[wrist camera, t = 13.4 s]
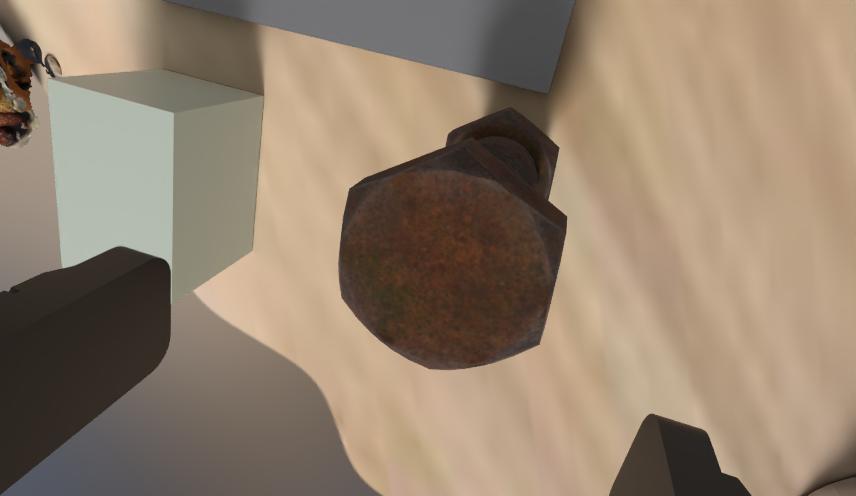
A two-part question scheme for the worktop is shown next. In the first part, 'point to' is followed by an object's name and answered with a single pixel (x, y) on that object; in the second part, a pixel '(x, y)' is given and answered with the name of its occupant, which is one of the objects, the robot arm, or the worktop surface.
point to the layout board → (428, 31)
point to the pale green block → (156, 169)
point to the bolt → (457, 246)
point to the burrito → (19, 90)
